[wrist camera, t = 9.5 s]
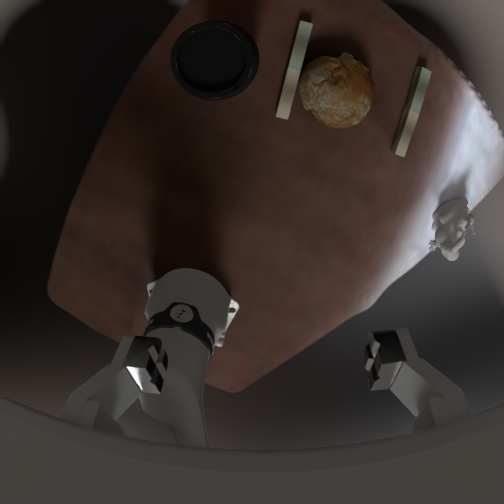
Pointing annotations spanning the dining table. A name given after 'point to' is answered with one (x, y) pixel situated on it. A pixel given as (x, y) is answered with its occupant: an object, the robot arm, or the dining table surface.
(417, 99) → the channel
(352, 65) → the bread roll
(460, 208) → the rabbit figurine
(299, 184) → the dining table surface
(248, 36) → the coffee cup
